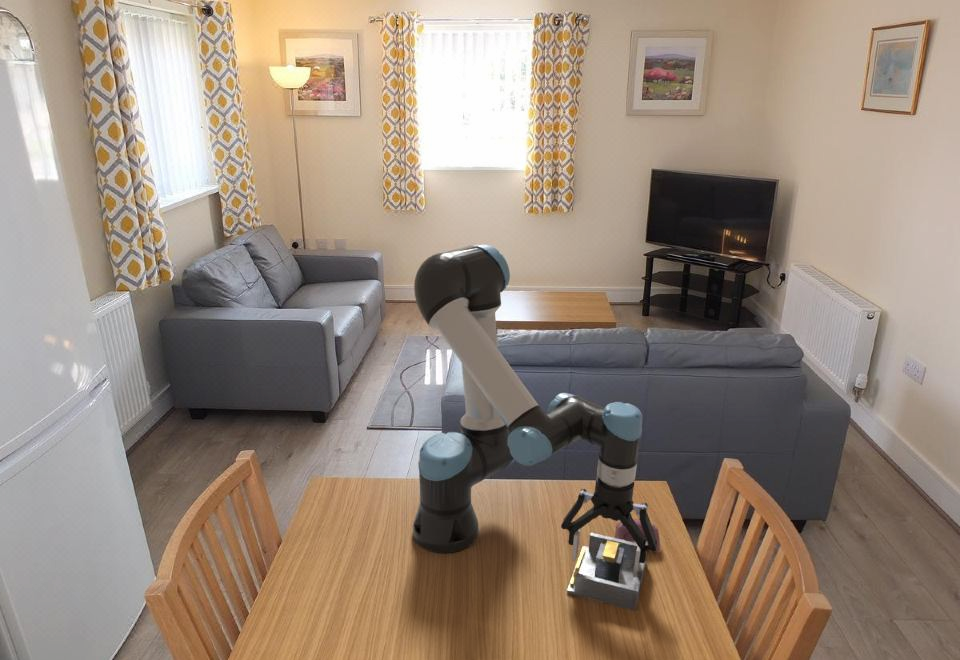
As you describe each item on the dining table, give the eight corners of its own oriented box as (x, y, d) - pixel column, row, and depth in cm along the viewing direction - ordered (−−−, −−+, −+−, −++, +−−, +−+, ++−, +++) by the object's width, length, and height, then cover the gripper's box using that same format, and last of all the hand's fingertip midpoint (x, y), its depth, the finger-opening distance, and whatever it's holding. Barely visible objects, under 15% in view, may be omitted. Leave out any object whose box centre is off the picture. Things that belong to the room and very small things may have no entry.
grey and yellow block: (594, 581, 144) (596, 554, 141) (598, 565, 148) (601, 538, 146) (618, 587, 142) (620, 559, 140) (622, 571, 147) (624, 544, 144)
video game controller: (657, 551, 157) (658, 519, 158) (661, 555, 152) (661, 523, 153) (613, 548, 158) (614, 516, 158) (615, 552, 153) (616, 520, 154)
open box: (567, 593, 142) (568, 574, 140) (582, 548, 155) (584, 531, 153) (635, 610, 137) (638, 591, 136) (645, 563, 150) (648, 545, 149)
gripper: (551, 473, 138) (544, 560, 146) (676, 502, 130) (661, 592, 138) (560, 455, 145) (553, 539, 152) (680, 481, 137) (665, 568, 145)
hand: (604, 564), depth 145 cm, fingers open, 12 cm apart
